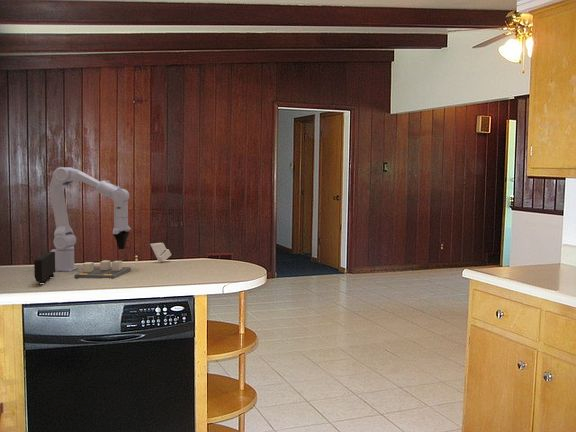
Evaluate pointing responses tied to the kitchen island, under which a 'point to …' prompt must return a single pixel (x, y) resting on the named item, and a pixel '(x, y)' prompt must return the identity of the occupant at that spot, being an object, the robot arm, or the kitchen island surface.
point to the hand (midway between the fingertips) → (121, 249)
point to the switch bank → (102, 273)
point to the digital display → (44, 267)
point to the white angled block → (161, 251)
